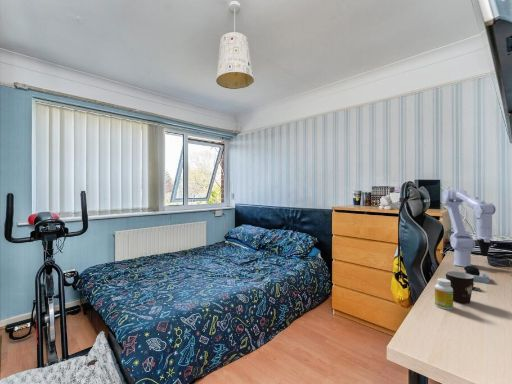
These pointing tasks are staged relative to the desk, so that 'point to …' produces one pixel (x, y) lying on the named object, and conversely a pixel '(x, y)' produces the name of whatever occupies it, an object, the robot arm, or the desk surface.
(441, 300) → the supplement bottle
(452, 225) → the robot arm
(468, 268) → the billiard ball
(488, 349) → the desk surface
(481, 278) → the corral
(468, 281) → the coffee mug
